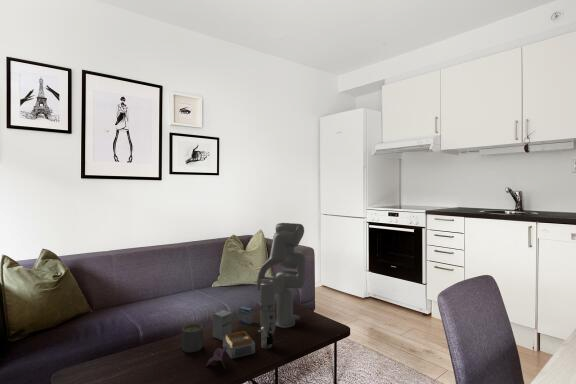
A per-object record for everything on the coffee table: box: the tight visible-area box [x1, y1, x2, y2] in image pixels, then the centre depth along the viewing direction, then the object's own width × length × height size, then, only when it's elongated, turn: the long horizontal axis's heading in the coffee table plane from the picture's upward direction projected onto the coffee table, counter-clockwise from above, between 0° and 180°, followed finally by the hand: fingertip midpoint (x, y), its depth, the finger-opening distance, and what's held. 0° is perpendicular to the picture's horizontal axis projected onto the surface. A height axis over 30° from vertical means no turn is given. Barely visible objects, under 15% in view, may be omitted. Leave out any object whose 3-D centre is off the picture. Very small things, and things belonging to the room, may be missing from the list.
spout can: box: [257, 326, 273, 350], centre depth 167 cm, size 8×6×10 cm
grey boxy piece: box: [222, 330, 256, 360], centre depth 163 cm, size 12×14×6 cm
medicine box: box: [238, 305, 254, 326], centre depth 197 cm, size 8×4×9 cm, turn 62°
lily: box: [205, 345, 228, 369], centre depth 148 cm, size 12×12×10 cm
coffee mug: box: [181, 323, 204, 353], centre depth 167 cm, size 13×10×10 cm
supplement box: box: [212, 309, 233, 341], centre depth 178 cm, size 7×7×13 cm
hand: (266, 341), depth 167 cm, fingers open, 6 cm apart
